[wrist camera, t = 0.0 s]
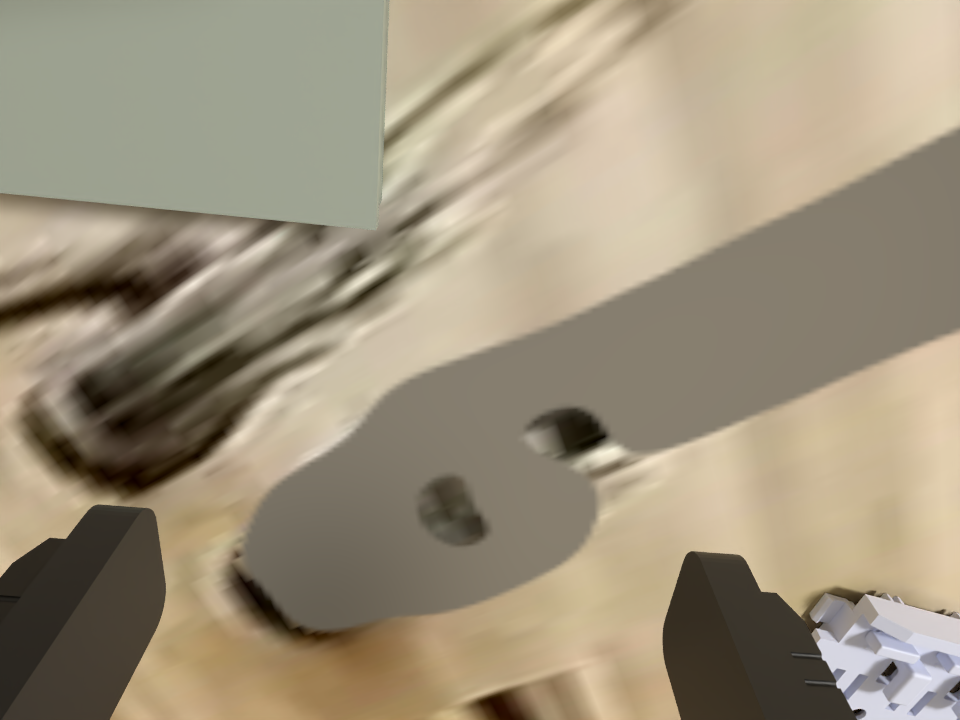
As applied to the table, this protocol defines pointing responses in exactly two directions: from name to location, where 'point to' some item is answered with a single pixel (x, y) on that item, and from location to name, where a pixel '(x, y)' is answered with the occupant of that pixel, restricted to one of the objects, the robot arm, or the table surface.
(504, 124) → the table surface
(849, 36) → the table surface
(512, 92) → the table surface
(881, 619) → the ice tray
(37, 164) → the flat pale green panel
